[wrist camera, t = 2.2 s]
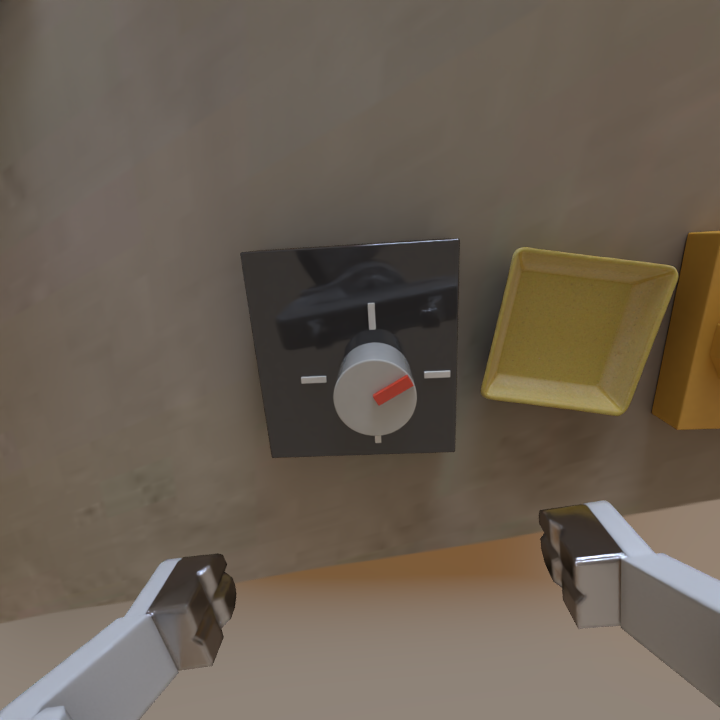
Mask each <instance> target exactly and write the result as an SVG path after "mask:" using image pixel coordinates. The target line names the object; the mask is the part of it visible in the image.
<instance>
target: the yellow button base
mask: <svg viewBox="0 0 720 720" xmlns="http://www.w3.org/2000/svg"><path fill="white" fill-rule="evenodd" d="M652 414H653V415H655V416H657V417H658V418H660V419H661V420H663V421H664V422H666V423H667V424H669V425H671V426H672V427H674V428H675V429H677V430H687V429H716V428H720V231H708V232H692V233H688V237H687V242H686V246H685V251H684V256H683V261H682V266H681V271H680V276H679V281H678V286H677V291H676V295H675V300H674V305H673V310H672V315H671V320H670V325H669V330H668V335H667V340H666V345H665V349H664V354H663V359H662V364H661V369H660V374H659V379H658V384H657V389H656V394H655V398H654V403H653V408H652Z"/></svg>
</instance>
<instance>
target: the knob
mask: <svg viewBox="0 0 720 720" xmlns="http://www.w3.org/2000/svg"><path fill="white" fill-rule="evenodd" d="M333 401H334V406H335V409H336V412H337V414H338V416H339V417H340V419H341V420H342V421H343V422H344V423H345V424H346V425H347V426H348V427H349V428H351V429H352V430H354V431H356V432H358V433H361V434H365V435H370V436H380V435H386V434H389V433H392V432H394V431H396V430H398V429H400V428H401V427H402V426H404V425H405V424H406V423H407V422H408V421H409V419H410V418H411V416H412V415H413V413H414V410H415V408H416V403H417V391H416V387H415V383H414V380H413V376H412V372H411V369H410V366H409V363H408V361H407V359H406V358H405V357H404V355H403V354H402V353H401V352H400V351H398V350H397V349H396V348H394V347H392V346H390V345H388V344H384V343H376V342H373V343H366V344H363V345H360V346H358V347H356V348H354V349H353V350H352V351H350V352H349V353H348V354H347V355H346V357H345V358H344V360H343V361H342V363H341V366H340V369H339V373H338V377H337V381H336V384H335V388H334V394H333Z"/></svg>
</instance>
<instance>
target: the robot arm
mask: <svg viewBox="0 0 720 720" xmlns="http://www.w3.org/2000/svg"><path fill="white" fill-rule="evenodd" d="M539 524H540V526H541V528H542V530H543V531H544V534H543V536H542V537H541V539H540V540H541V549H542V553H543V557H544V561H545V564H546V567H547V569H548V571H549V573H550V576H551V578H552V580H553V581H554V582H555V583H556V584H558V585H559V586H560V587H562V593H563V601H564V602H565V605H566V606H567V608H568V610H569V612H570V614H571V616H572V618H573V620H574V622H575V623H576V625H577V627H578V628H579V629H581V628H595V627H609V626H621V628H622V629H623V630H624V631H625V632H627V633H628V634H629V635H630V636H632V637H633V638H634V639H635V640H637V641H638V642H639V643H640V644H642V645H643V646H644V647H645V648H647V649H648V650H649V651H650V652H651V653H653V654H654V655H655V656H656V657H658V658H659V659H660V660H661V661H663V662H664V663H665V664H666V665H668V666H669V667H670V668H671V669H673V670H674V671H675V672H676V673H678V674H679V675H680V676H681V677H683V678H684V679H685V680H686V681H687V682H689V683H690V684H691V685H693V686H694V687H695V688H696V689H697V690H699V691H700V692H701V693H703V694H704V695H705V696H706V697H707V698H709V699H710V700H711V701H712V702H714V703H715V704H716V705H717V706H719V707H720V580H718V579H715V578H713V577H711V576H709V575H707V574H705V573H703V572H701V571H699V570H697V569H695V568H693V567H691V566H689V565H687V564H685V563H683V562H680V561H679V560H676V559H674V558H672V557H670V556H668V555H666V554H664V553H660V554H656V553H655V552H654V551H653V550H652V549H651V548H650V547H649V546H648V545H647V543H646V542H645V541H644V540H643V539H642V538H641V537H640V536H639V535H638V534H637V532H636V531H635V530H634V529H633V528H632V527H631V526H630V525H629V524H628V523H627V522H626V520H625V519H624V518H623V517H622V516H621V515H620V514H619V513H618V511H617V510H616V509H615V508H614V507H613V506H612V505H611V504H610V503H609V502H607V501H605V500H604V501H597V502H590V503H584V504H579V505H572V506H565V507H558V508H551V509H544V510H540V511H539ZM226 566H227V563H226V561H225V558H224V556H223V555H222V554H209V555H199V556H190V557H183V558H175V559H166V560H165V561H163V562H162V563H160V565H159V566H158V568H157V569H156V571H155V572H154V574H153V575H152V577H151V578H150V580H149V581H148V582H147V584H146V585H145V587H144V588H143V590H142V591H141V593H140V594H139V596H138V597H137V599H136V600H135V602H134V603H133V605H132V606H131V607H130V609H129V610H128V612H127V614H126V615H125V616H124V617H122V618H117V619H116V620H115V621H114V622H112V623H111V624H110V625H109V626H107V627H106V628H105V629H103V630H102V631H101V632H100V633H98V634H97V635H96V636H95V637H93V638H92V639H91V640H89V641H88V642H87V643H86V644H85V645H83V646H82V647H81V648H79V649H78V650H77V651H75V652H74V653H73V654H72V655H70V656H69V657H68V658H67V659H65V660H64V661H63V662H61V663H60V664H59V665H58V666H56V667H55V668H54V669H53V670H51V671H50V672H49V673H47V675H45V676H44V677H42V678H41V679H40V680H39V681H37V682H36V683H35V684H33V685H32V686H31V687H30V688H28V689H27V690H26V691H25V692H23V693H22V694H21V695H20V696H18V697H17V698H16V699H14V700H13V701H12V702H11V703H9V704H8V705H7V706H6V707H4V708H3V709H2V710H1V711H0V720H140V718H141V717H142V716H143V715H144V713H145V712H146V711H147V710H148V709H149V707H150V706H151V705H152V704H153V703H154V702H155V700H156V699H157V698H158V697H159V696H160V694H161V693H162V692H163V691H164V690H165V688H166V687H167V686H168V685H169V684H170V682H171V681H172V680H173V679H174V678H175V677H176V675H177V674H178V670H186V669H194V668H201V667H208V666H212V665H213V663H214V660H215V658H216V655H217V653H218V650H219V648H220V645H221V643H222V640H223V633H222V630H221V628H222V627H223V626H224V625H225V624H226V623H227V622H228V621H229V620H230V619H231V617H232V614H233V611H234V608H235V601H236V588H235V583H234V581H233V578H232V577H231V576H229V575H228V574H227V573H225V572H224V571H225V569H226Z"/></svg>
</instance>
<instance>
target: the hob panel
mask: <svg viewBox="0 0 720 720" xmlns="http://www.w3.org/2000/svg"><path fill="white" fill-rule="evenodd" d="M459 251H460V240H459V239H451V238H446V239H430V240H414V241H398V242H382V243H367V244H351V245H335V246H319V247H303V248H288V249H272V250H257V251H248V252H241V253H240V256H241V262H242V269H243V275H244V281H245V288H246V294H247V301H248V307H249V314H250V320H251V326H252V333H253V339H254V346H255V352H256V359H257V365H258V371H259V378H260V384H261V391H262V397H263V403H264V410H265V416H266V423H267V429H268V436H269V442H270V448H271V455H272V458H280V457H311V456H343V455H374V454H405V453H436V452H455V433H456V388H457V342H458V297H459ZM373 342H376V343H384V344H388V345H390V346H392V347H394V348H396V349H397V350H398V351H400V352H401V353H402V354H403V355H404V357H405V358H406V359H407V361H408V363H409V366H410V369H411V372H412V376H413V380H414V383H415V387H416V391H417V403H416V408H415V410H414V413H413V415H412V416H411V418H410V419H409V421H408V422H407V423H406V424H405V425H404V426H402V427H401V428H400V429H398V430H396V431H394V432H392V433H389V434H386V435H380V436H370V435H365V434H361V433H358V432H356V431H354V430H352V429H351V428H349V427H348V426H347V425H346V424H345V423H344V422H343V421H342V420H341V419H340V417H339V416H338V414H337V412H336V409H335V406H334V401H333V394H334V388H335V384H336V381H337V377H338V373H339V369H340V366H341V363H342V361H343V360H344V358H345V357H346V355H347V354H348V353H349V352H350V351H352V350H353V349H354V348H356V347H358V346H360V345H363V344H366V343H373Z"/></svg>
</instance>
